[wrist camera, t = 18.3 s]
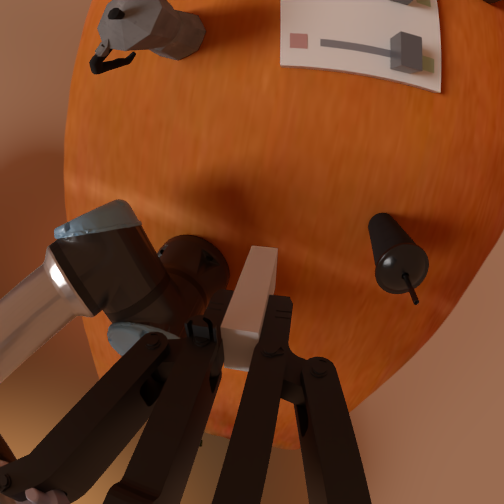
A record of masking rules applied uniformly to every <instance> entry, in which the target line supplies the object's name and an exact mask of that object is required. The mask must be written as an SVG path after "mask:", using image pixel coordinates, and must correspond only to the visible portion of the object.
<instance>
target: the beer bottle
mask: <svg viewBox="0 0 504 504" xmlns="http://www.w3.org/2000/svg"><path fill="white" fill-rule="evenodd" d="M484 1H485V2H487V3H489V4H491V3H495V2H498V1H501V0H484Z"/></svg>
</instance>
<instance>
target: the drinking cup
mask: <svg viewBox="0 0 504 504" xmlns="http://www.w3.org/2000/svg"><path fill="white" fill-rule="evenodd" d="M368 229H369V234H370V239H371V244H372V249H373V255H374V260H375V266H376V268H375V277H376V281H377V283H378V285H379V286H380V287H381V288H382V289H383V290H384V291H386V292H388V293H392V294H402V293H406V292H409V293H410V295H411V298H412V300H413V303H414V305H417V304H418V303H419V300H418V298H417V295H416V293H415V290H414V289H415V288H416V287H417V286H419V285H420V284H421V282H422V281H423V280H424V278H425V277H426V275H427V272H428V268H429V261H428V257H427V255H426V253H425V251H424V250H423V249H422V248H421V247H420V246H418V245H416V243H415V242H414V241H413V240H412V239H411V238H410V237H409V235H408V234H407V233H406V232H405V231H404V230H403V229H402V228H401V226H400V225H399V224H398V223H397V222H396V221H395V220H394V219H393V218H392V217H391V216H390V215H389V214H386V213H379V214H376V215H375V216H373V217H372V218H371V220H370V222H369V225H368Z"/></svg>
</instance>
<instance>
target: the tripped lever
mask: <svg viewBox="0 0 504 504" xmlns="http://www.w3.org/2000/svg"><path fill="white" fill-rule="evenodd" d="M390 1H394V2H398V3H402V4H405V5H408V4H409V3H411V2H412V1H413V0H390Z"/></svg>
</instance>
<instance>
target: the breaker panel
mask: <svg viewBox="0 0 504 504" xmlns="http://www.w3.org/2000/svg"><path fill="white" fill-rule="evenodd" d="M400 31H402V32H406V33H409V34H413V35H416V36H419V37H422V71H420V72H415V73H411V74H408V73H404V72H401V71H396V70H392V69H390V38H392V37H393V36H395V35H396V34H397V33H399V32H400ZM280 66H281V67H284V68H303V69H315V70H325V71H334V72H342V73H349V74H356V75H362V76H367V77H373V78H378V79H383V80H388V81H392V82H396V83H401V84H405V85H409V86H412V87H416V88H420V89H423V90H427V91H430V92H433V93H441V39H440V24H439V14H438V5H437V0H413V1H412V2H411V3H409V4H408V5H405V4H402V3H398V2H394V1H390V0H281V37H280Z"/></svg>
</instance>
